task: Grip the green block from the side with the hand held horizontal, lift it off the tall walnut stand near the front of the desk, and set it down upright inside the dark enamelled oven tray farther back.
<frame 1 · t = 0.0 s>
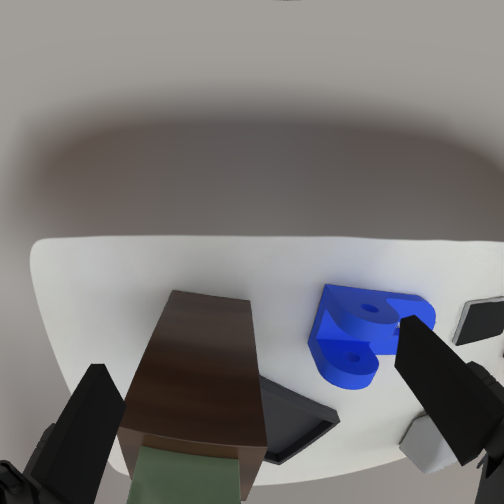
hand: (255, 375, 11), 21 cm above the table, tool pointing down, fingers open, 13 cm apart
smartphone: (483, 317, 37), on the table
tank: (451, 407, 44), on the table
green block: (188, 474, 15), point 20 cm above the table, touching stand
stand: (207, 328, 34), on the table
oven tray: (262, 419, 39), on the table
bracket: (377, 319, 35), on the table
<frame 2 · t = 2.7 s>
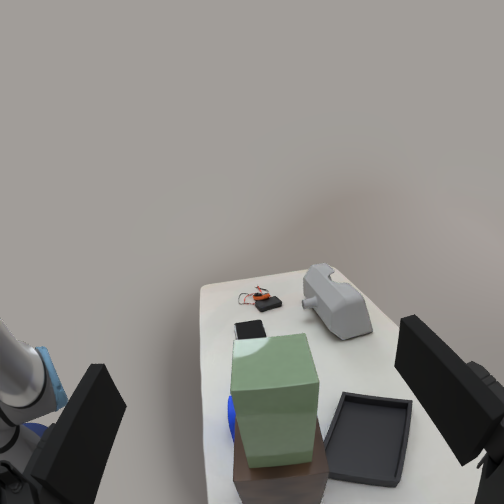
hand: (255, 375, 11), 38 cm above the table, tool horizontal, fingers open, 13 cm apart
multimeter: (256, 299, 96), on the table
smartphone: (251, 340, 75), on the table
tank: (329, 318, 81), on the table
green block: (278, 442, 24), point 20 cm above the table, touching stand
stand: (282, 501, 31), on the table
oven tray: (366, 440, 40), on the table
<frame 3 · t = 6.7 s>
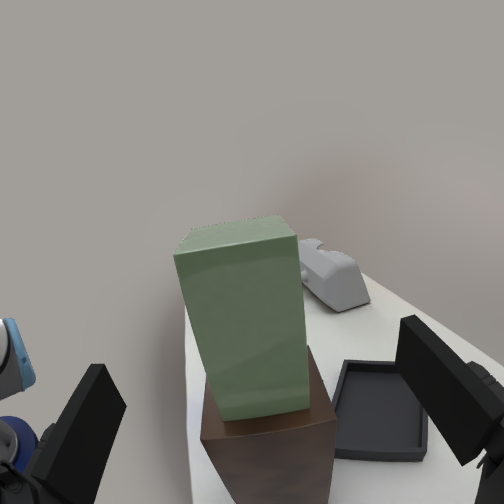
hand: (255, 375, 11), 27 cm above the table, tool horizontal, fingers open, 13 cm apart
tank: (322, 294, 77), on the table
green block: (262, 388, 20), point 20 cm above the table, touching stand
stand: (283, 490, 26), on the table
oven tray: (378, 411, 35), on the table
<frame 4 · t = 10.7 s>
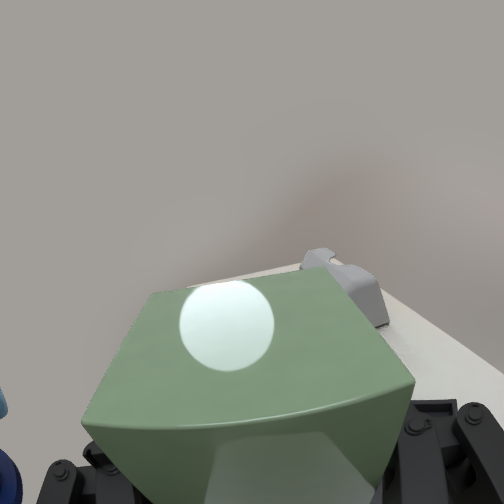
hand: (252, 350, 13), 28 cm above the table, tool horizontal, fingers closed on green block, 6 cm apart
tank: (334, 311, 67), on the table
oven tray: (404, 460, 25), on the table
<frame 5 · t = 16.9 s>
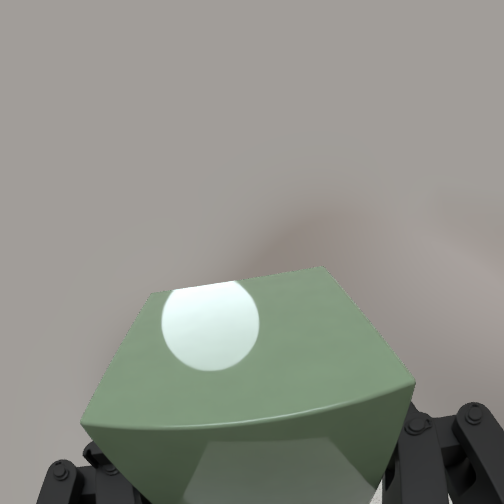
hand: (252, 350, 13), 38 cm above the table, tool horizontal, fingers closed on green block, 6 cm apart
when the fingers open (8 cm above the table, at t = 23.6 s): green block stays where it is, resting on oven tray.
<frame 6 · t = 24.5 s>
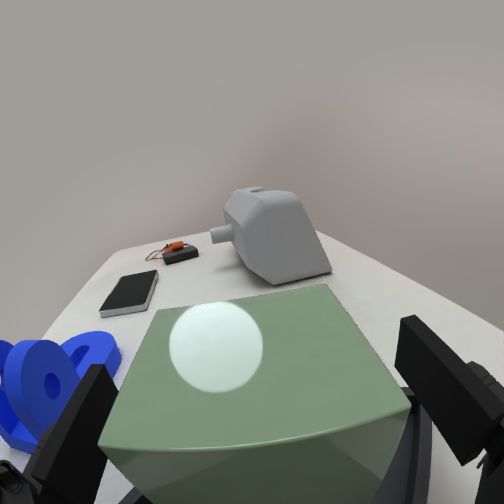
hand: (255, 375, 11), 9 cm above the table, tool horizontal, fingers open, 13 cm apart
multimeter: (169, 254, 67), on the table
smartphone: (132, 295, 46), on the table
tank: (262, 262, 52), on the table
bracket: (73, 393, 22), on the table
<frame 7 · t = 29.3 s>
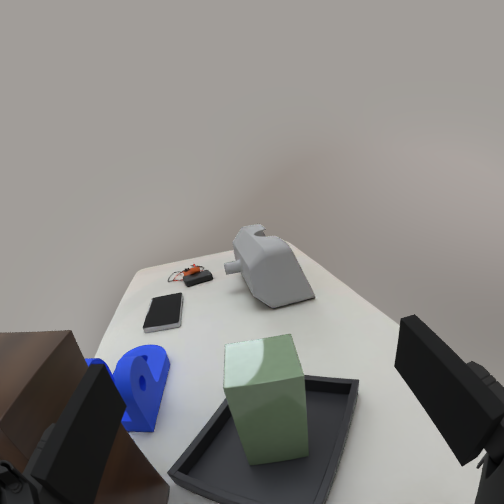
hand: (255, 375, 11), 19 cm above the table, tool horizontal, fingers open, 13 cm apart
multimeter: (187, 276, 83), on the table
smartphone: (165, 314, 61), on the table
tank: (263, 287, 67), on the table
green block: (275, 440, 26), point 1 cm above the table, touching oven tray
oven tray: (276, 443, 26), on the table
bracket: (139, 388, 37), on the table
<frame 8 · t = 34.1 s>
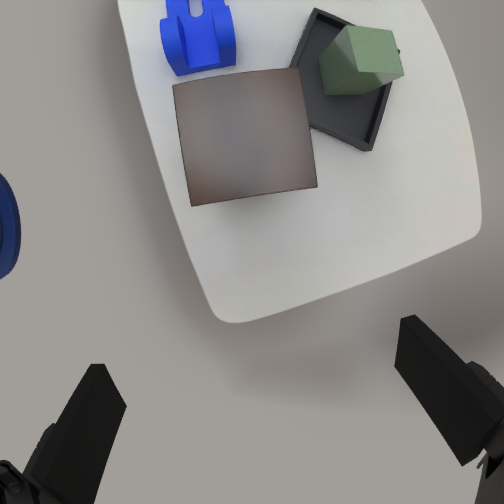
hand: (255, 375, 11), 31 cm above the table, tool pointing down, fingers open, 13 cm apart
green block: (340, 76, 34), point 1 cm above the table, touching oven tray
stand: (240, 150, 38), on the table
oven tray: (338, 77, 35), on the table
bracket: (198, 22, 31), on the table
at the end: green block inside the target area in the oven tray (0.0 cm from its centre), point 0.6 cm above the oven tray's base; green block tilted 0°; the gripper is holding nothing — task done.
